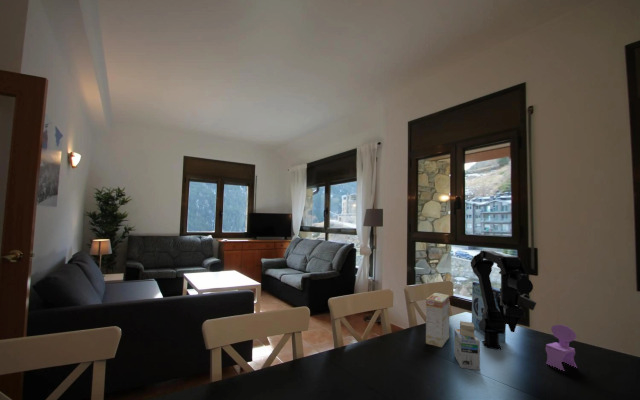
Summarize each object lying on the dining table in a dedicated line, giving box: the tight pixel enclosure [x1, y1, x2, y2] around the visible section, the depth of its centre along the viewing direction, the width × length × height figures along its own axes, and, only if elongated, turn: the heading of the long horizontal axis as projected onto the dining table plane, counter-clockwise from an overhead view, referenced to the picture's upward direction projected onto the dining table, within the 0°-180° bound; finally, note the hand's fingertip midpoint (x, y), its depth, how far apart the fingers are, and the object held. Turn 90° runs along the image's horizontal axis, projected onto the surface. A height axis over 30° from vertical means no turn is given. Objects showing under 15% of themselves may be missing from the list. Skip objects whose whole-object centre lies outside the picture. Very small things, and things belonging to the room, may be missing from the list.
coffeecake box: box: [425, 292, 450, 348], centre depth 134 cm, size 15×7×20 cm, turn 144°
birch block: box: [459, 320, 475, 337], centre depth 114 cm, size 4×4×4 cm
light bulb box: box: [454, 328, 481, 371], centre depth 113 cm, size 11×7×11 cm, turn 169°
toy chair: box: [545, 324, 578, 372], centre depth 113 cm, size 8×9×15 cm
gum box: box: [471, 281, 507, 343], centre depth 144 cm, size 20×5×23 cm, turn 4°
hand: (509, 327), depth 116 cm, fingers open, 9 cm apart
